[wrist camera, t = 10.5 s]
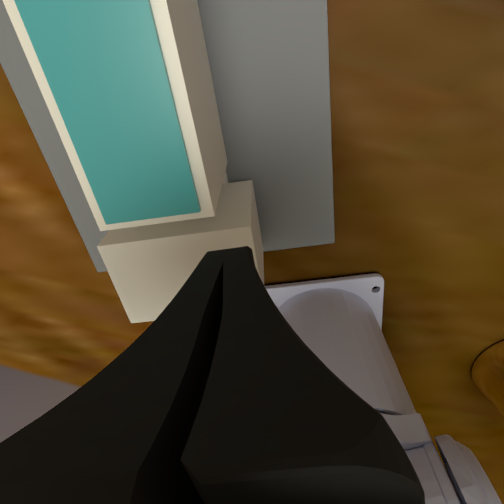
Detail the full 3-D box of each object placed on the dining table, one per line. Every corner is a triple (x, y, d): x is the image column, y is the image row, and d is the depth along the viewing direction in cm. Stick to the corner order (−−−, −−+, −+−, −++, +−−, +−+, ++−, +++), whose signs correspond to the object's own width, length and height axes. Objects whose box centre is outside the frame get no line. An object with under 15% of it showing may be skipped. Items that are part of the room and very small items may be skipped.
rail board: (331, 234, 20) (359, 307, 15) (104, 262, 22) (51, 340, 16) (312, -256, 11) (368, -549, 6) (-84, -157, 12) (-360, -316, 7)
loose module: (227, 161, 17) (213, 219, 11) (147, 173, 17) (97, 233, 12) (193, -21, 13) (150, -61, 8) (92, -2, 13) (-15, -27, 8)
